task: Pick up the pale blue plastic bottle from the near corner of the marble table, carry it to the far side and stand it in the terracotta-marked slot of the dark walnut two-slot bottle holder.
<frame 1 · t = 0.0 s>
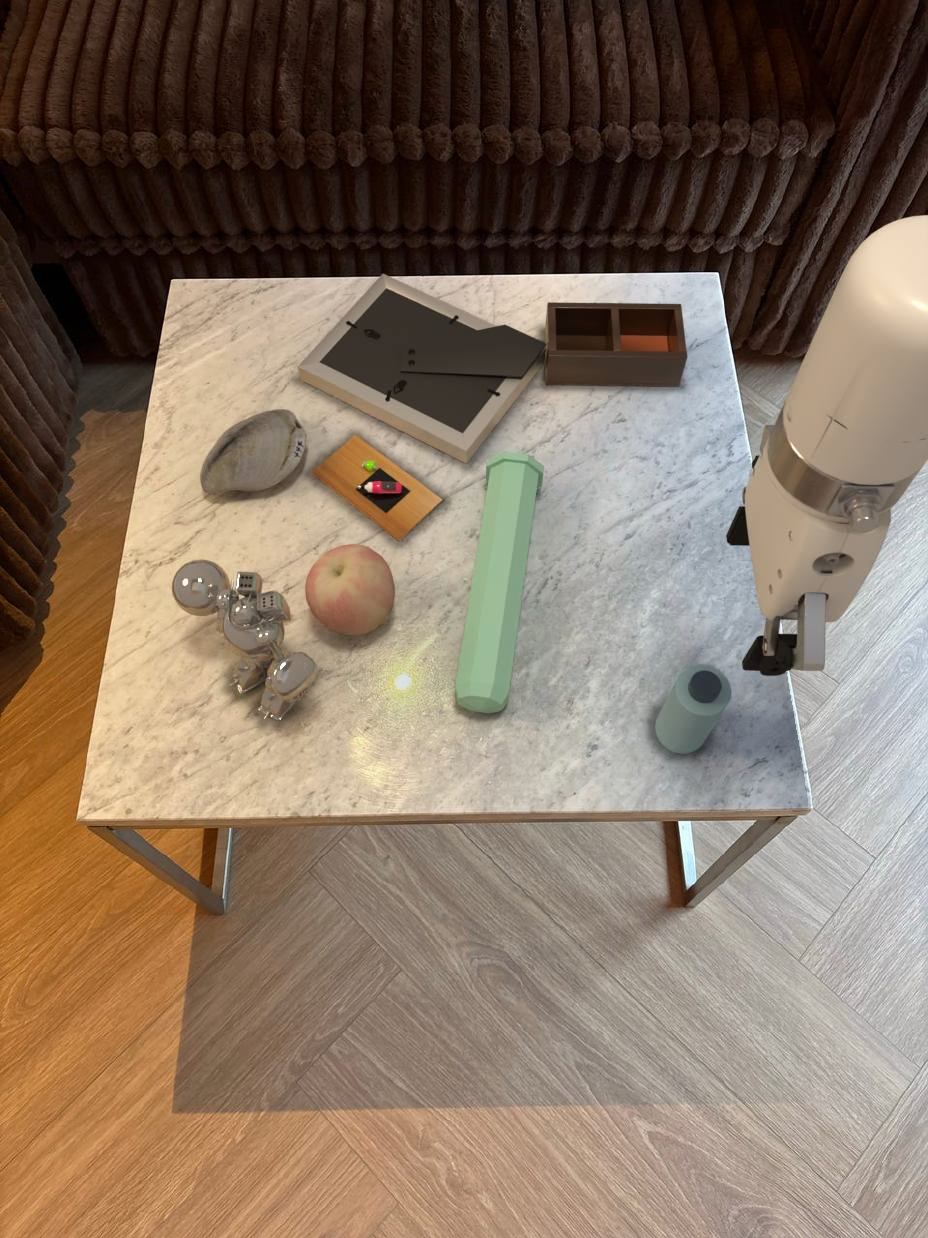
hand: (756, 602, 65), 20 cm above the table, tool pointing down, fingers open, 9 cm apart
robot toy: (262, 670, 85), on the table
bottle: (680, 729, 82), on the table
apple: (356, 612, 88), on the table
holder: (610, 359, 101), on the table
container: (496, 596, 88), on the table
seashell: (259, 469, 95), on the table
picture frame: (423, 372, 101), on the table
board: (376, 488, 94), on the table
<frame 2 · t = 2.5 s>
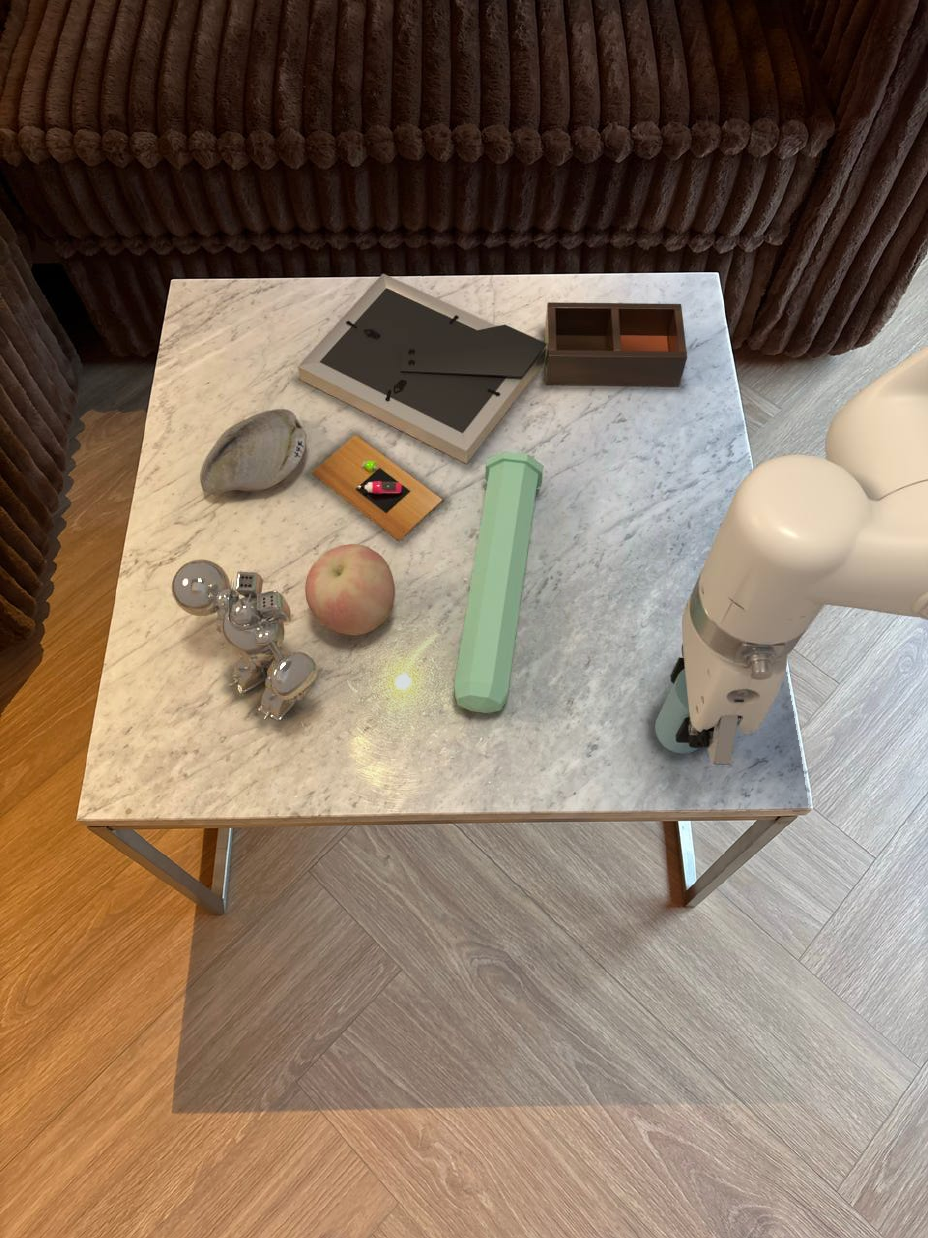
hand: (692, 708, 78), 5 cm above the table, tool pointing down, fingers closed on bottle, 4 cm apart
bottle: (680, 729, 82), on the table, touching gripper
everything else where it was.
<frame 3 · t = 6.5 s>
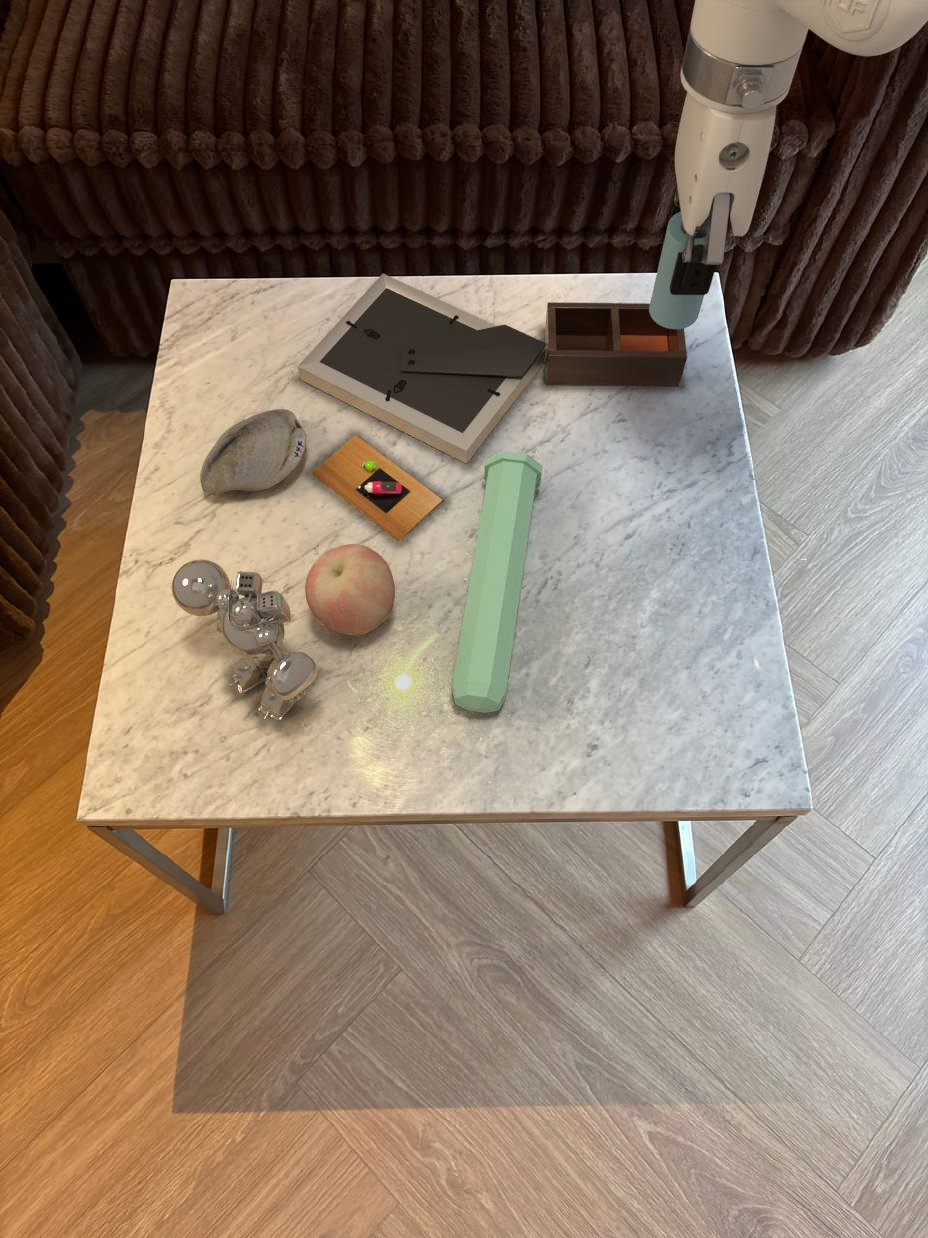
hand: (685, 268, 80), 20 cm above the table, tool pointing down, fingers closed on bottle, 4 cm apart
bottle: (673, 310, 84), point 15 cm above the table, touching gripper
everything else where it was.
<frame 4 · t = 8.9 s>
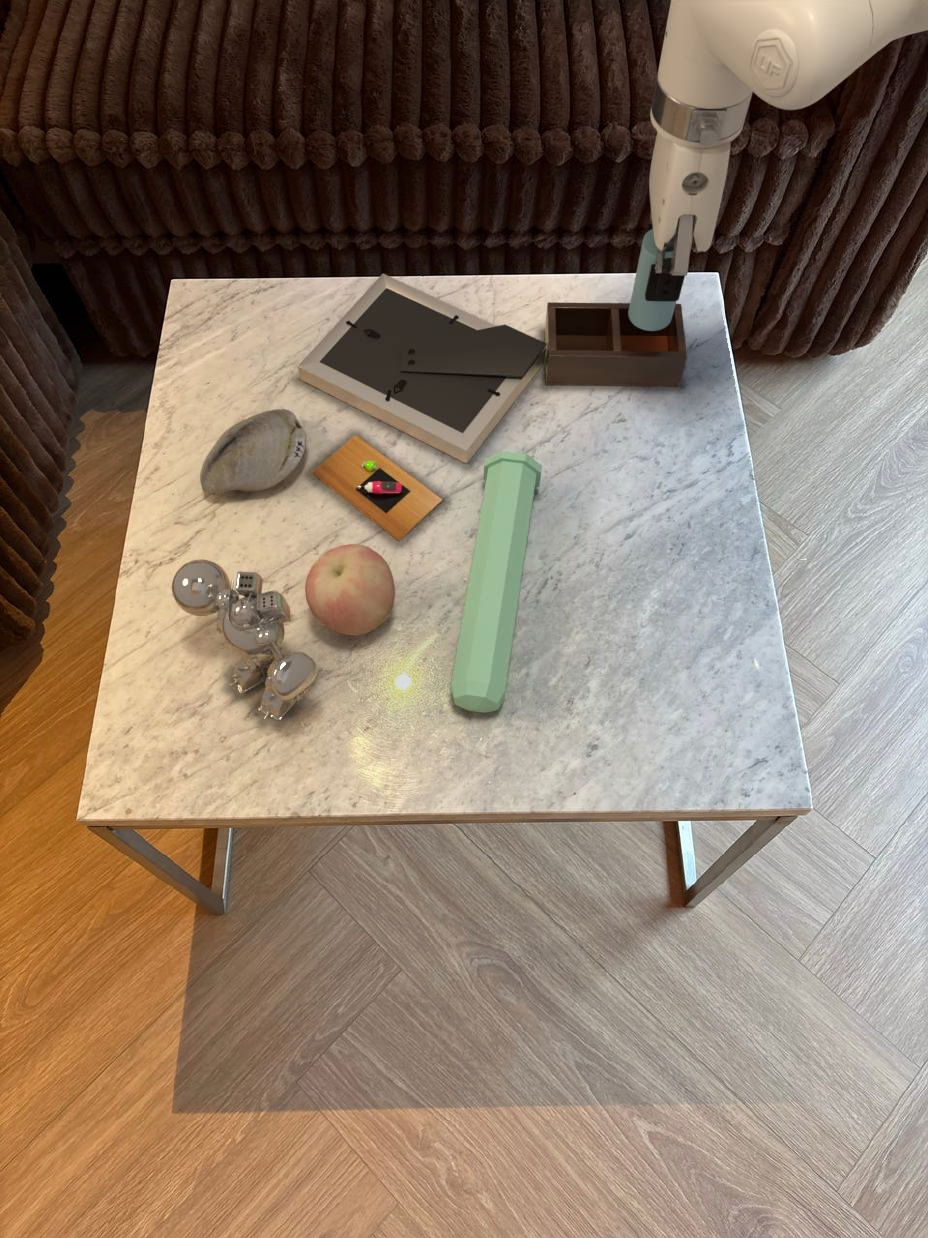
hand: (659, 277, 91), 11 cm above the table, tool pointing down, fingers closed on bottle, 4 cm apart
bottle: (650, 314, 95), point 6 cm above the table, touching gripper
everything else where it was.
when the fingers open (5 cm above the table, at t = 10.7 s): bottle stays where it is, resting on holder.
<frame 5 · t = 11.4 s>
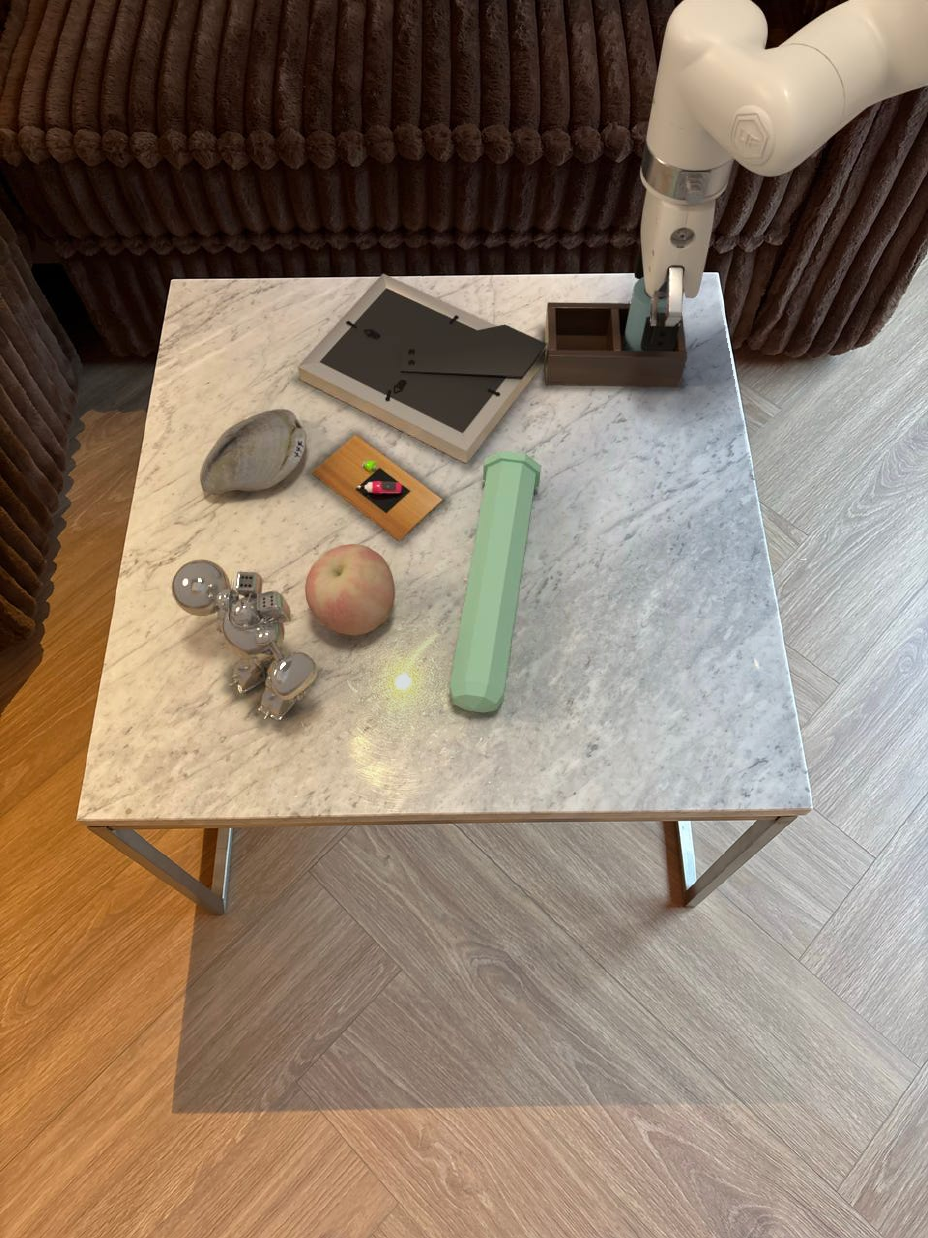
hand: (652, 312, 95), 7 cm above the table, tool pointing down, fingers open, 9 cm apart
bottle: (641, 355, 101), point 1 cm above the table, touching holder
everything else where it was.
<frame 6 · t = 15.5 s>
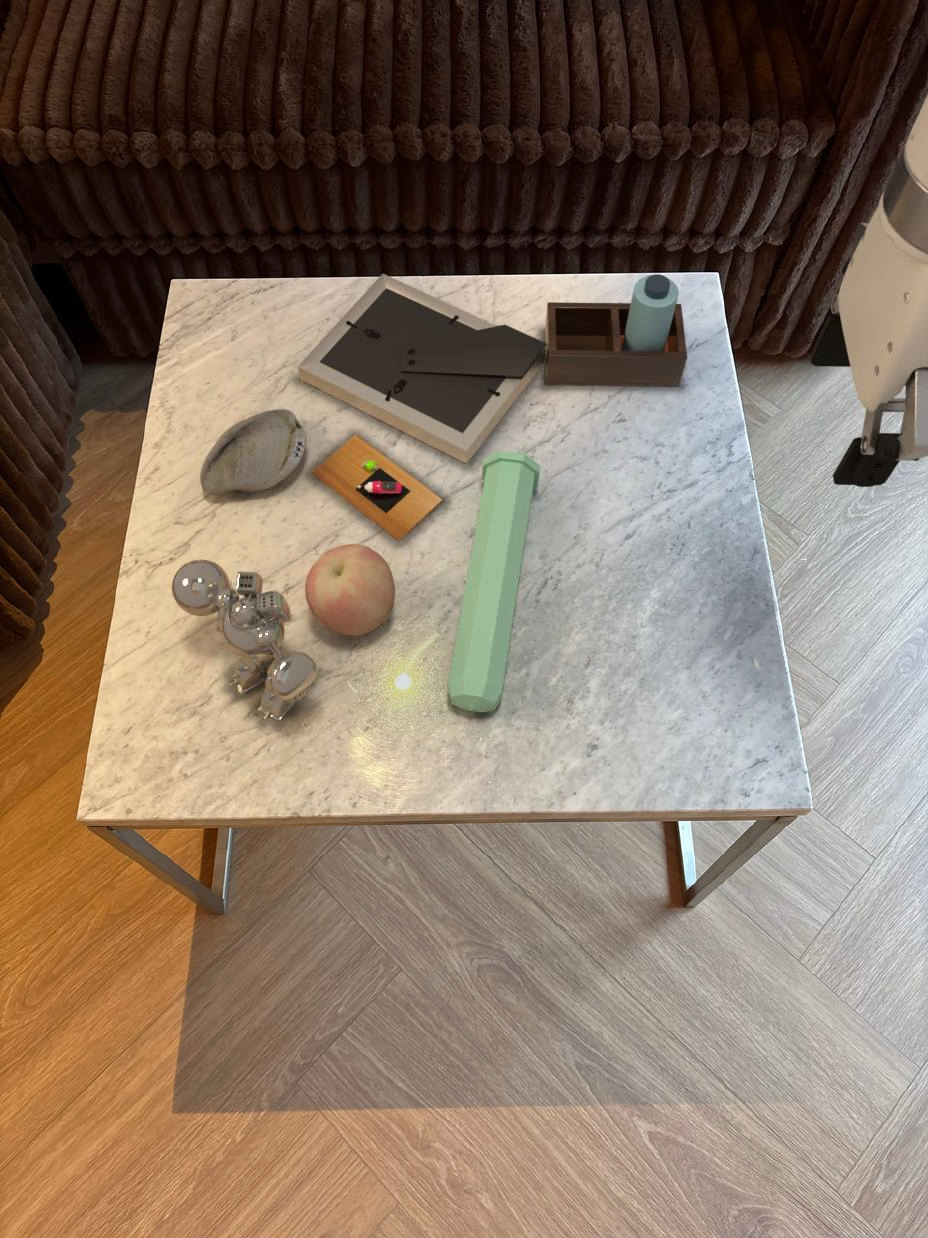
hand: (844, 419, 62), 28 cm above the table, tool pointing down, fingers open, 9 cm apart
nothing on the table moved.
at the end: bottle 0.1 cm from the target spot in the holder, point 0.6 cm above the holder's base; bottle tilted 0°; the gripper is holding nothing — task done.
